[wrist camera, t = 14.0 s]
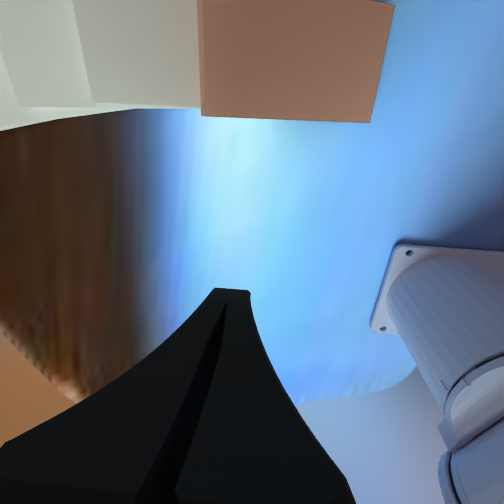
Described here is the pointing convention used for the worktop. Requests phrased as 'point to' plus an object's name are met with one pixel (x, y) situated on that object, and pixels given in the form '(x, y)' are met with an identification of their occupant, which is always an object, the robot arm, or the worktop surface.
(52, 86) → the domino
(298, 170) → the worktop surface
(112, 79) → the domino
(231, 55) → the domino
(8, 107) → the domino
